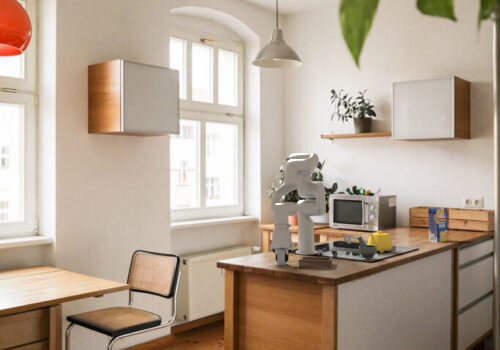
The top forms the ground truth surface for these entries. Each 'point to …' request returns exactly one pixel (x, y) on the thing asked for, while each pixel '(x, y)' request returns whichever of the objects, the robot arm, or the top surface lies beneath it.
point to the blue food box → (437, 224)
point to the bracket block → (281, 256)
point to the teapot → (380, 241)
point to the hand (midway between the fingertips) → (282, 261)
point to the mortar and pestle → (366, 249)
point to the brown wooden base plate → (315, 263)
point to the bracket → (351, 237)
